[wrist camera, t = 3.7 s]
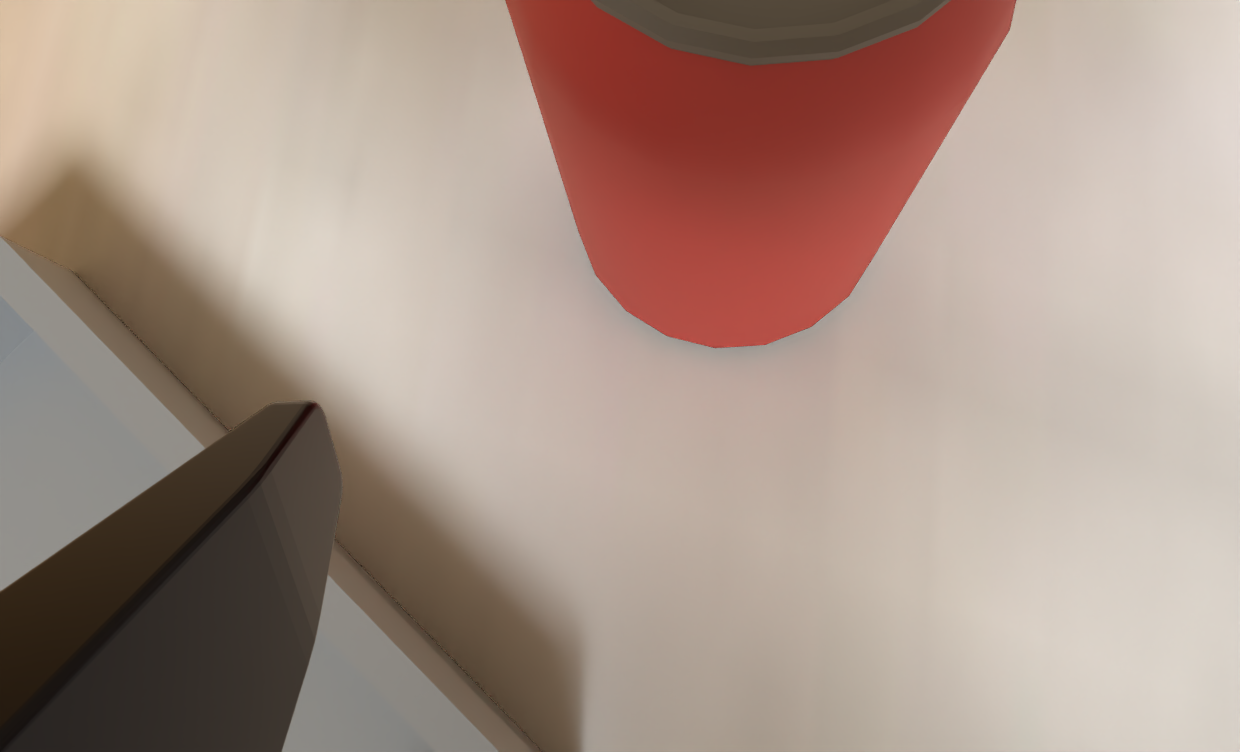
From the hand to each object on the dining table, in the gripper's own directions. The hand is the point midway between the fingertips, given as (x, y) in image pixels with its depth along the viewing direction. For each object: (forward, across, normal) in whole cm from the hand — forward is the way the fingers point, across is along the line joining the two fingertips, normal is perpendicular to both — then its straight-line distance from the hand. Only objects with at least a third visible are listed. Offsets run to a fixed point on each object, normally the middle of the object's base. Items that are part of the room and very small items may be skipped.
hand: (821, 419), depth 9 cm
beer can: (+14, 0, +4) cm, 14 cm away
